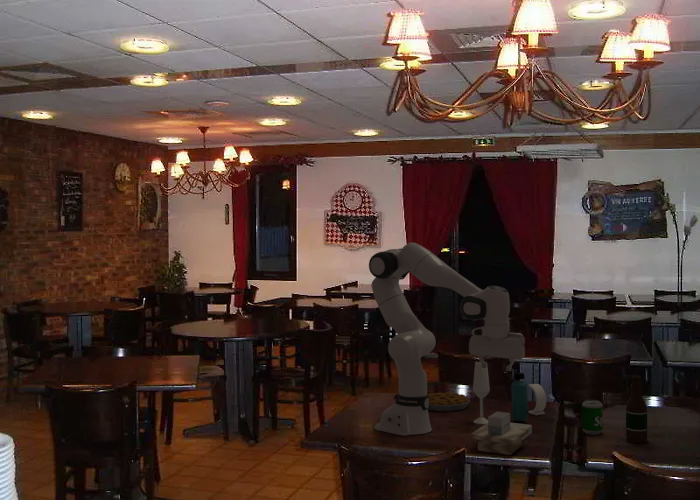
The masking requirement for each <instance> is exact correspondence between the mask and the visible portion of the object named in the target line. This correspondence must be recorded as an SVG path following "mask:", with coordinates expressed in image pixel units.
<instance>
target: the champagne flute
mask: <svg viewBox="0 0 700 500" xmlns="http://www.w3.org/2000/svg"><path fill="white" fill-rule="evenodd" d="M484 362H485V361H484ZM485 363H487V362H485ZM472 391H473V393H474V394H475V395H476V396H477V398H479V417H478V418H475V420H473V423H474V424H477V425H485V424H488V418H487V419H486V418H485V417H484V399H485V397H487V395H489V393H490V378H489V370H488V366H487V367H486V368H481V362H480V361H477V362H474V374H473V385H472Z"/></svg>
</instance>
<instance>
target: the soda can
mask: <svg viewBox="0 0 700 500" xmlns="http://www.w3.org/2000/svg"><path fill="white" fill-rule="evenodd" d="M603 408H604V406H603V403H602V402H601V401H600V400H598V399H597V400H596V399H585V400H584V401H583V402H582V404H581V411H582V412H581V427H582V428H581V429H582V431H583V432H584V434H586V435H592V436H597V435H601V433H602V432H603V431H604V412H603V411H604V409H603Z"/></svg>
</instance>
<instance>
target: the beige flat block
mask: <svg viewBox="0 0 700 500" xmlns="http://www.w3.org/2000/svg"><path fill="white" fill-rule="evenodd" d="M510 427H516V428H524V429H528V434H527V435H525V436H524V437H523V438H521V442H522V441H524V440H525V439H526V438H527V437H529V436H530V435H531V434H532V433H533V425H532V424H526V423H517V422H510Z"/></svg>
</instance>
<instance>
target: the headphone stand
mask: <svg viewBox="0 0 700 500" xmlns="http://www.w3.org/2000/svg"><path fill="white" fill-rule="evenodd" d="M527 388H529V389H531V390H532V391H533V393H534V395H535V402H536V403H535V406H534V409H533V410H528V414H530V415H534V416H540V415H541V416H543V415H545V411H544V410H545V408H546V406H547V395H546V391H545V390H544V388H543V387H542V385H540V384H539V383H531V384H527Z"/></svg>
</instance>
